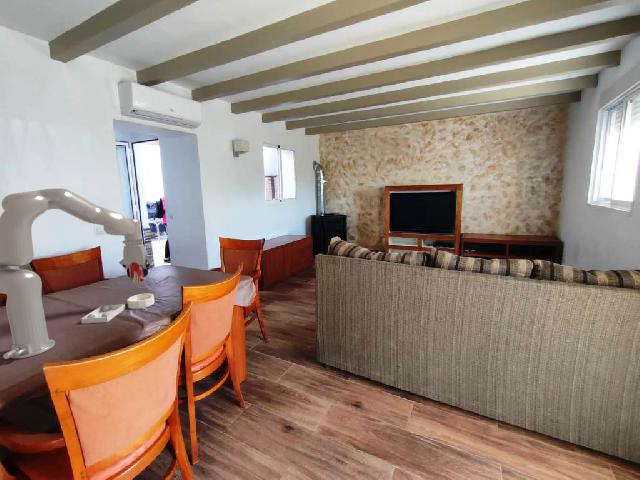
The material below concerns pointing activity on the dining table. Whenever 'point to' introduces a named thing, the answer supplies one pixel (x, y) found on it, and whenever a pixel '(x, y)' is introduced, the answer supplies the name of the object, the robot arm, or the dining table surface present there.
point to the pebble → (106, 308)
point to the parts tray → (99, 311)
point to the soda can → (136, 273)
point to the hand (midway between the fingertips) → (138, 275)
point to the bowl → (140, 301)
